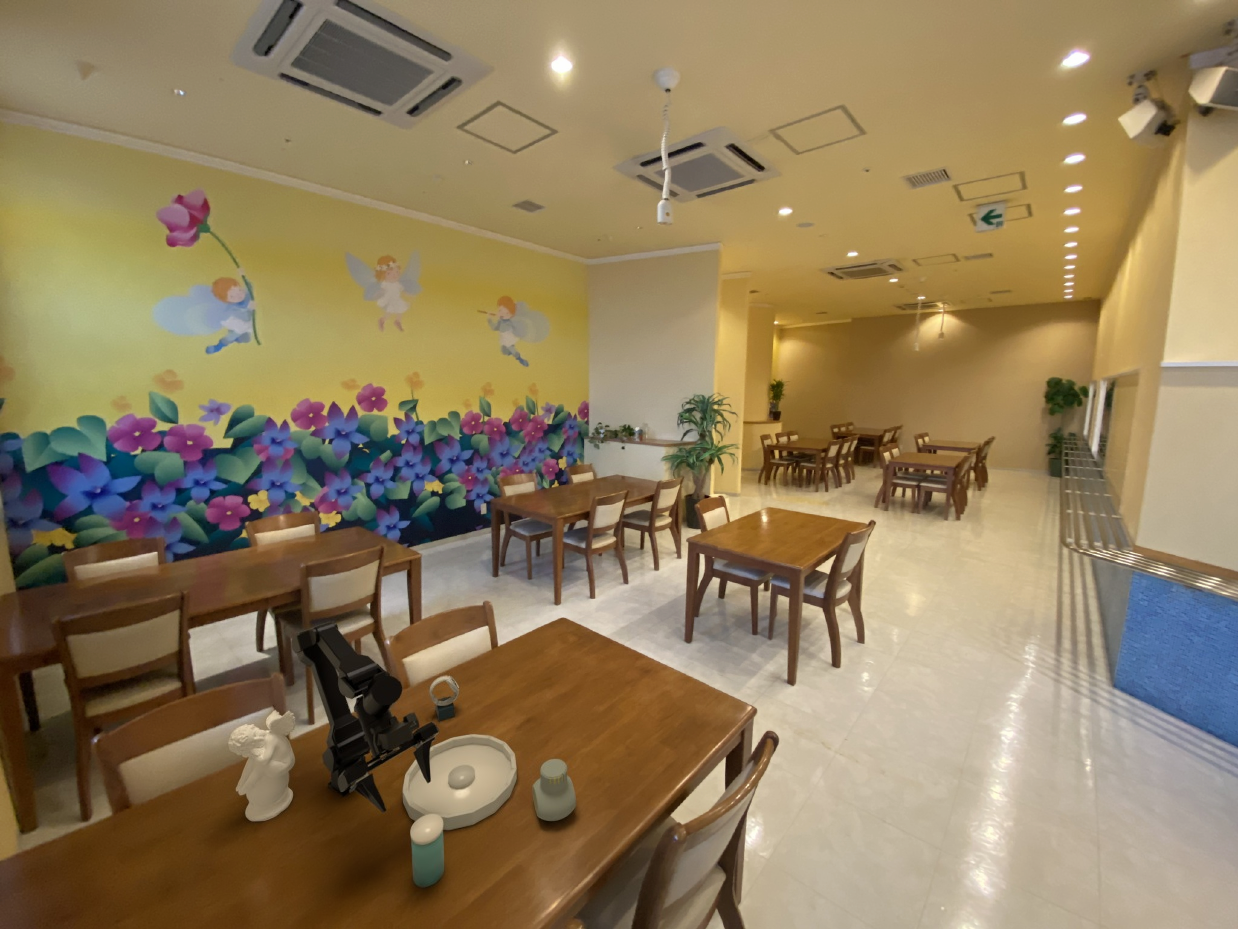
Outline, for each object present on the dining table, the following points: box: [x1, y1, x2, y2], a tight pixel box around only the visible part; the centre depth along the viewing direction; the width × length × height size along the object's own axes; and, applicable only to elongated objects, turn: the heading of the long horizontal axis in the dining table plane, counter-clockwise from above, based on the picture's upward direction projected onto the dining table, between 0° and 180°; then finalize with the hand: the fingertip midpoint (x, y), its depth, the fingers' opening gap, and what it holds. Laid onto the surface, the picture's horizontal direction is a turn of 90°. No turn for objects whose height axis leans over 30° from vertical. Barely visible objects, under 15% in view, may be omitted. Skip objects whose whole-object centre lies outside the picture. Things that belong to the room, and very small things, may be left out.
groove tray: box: [402, 733, 518, 831], centre depth 116 cm, size 25×25×3 cm
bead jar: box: [409, 814, 445, 888], centre depth 94 cm, size 6×6×10 cm
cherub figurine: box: [227, 709, 296, 822], centre depth 109 cm, size 12×12×22 cm
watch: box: [428, 675, 460, 722], centre depth 140 cm, size 6×8×11 cm
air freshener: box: [531, 758, 577, 822], centre depth 109 cm, size 11×8×10 cm
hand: (407, 796), depth 97 cm, fingers open, 9 cm apart
